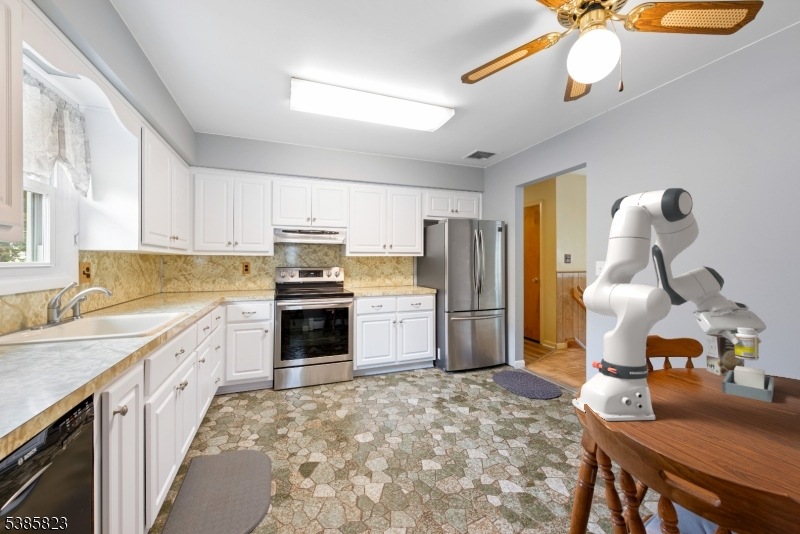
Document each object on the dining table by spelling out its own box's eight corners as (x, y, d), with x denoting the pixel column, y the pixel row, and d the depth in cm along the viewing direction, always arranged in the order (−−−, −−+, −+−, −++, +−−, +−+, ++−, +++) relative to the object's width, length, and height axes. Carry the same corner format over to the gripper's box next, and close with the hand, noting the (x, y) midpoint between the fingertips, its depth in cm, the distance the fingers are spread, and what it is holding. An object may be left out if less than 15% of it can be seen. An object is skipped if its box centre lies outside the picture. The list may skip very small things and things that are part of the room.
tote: (771, 405, 101) (771, 391, 101) (722, 395, 110) (722, 382, 110) (773, 389, 114) (773, 377, 114) (729, 381, 122) (729, 369, 122)
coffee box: (719, 378, 126) (718, 337, 127) (706, 372, 133) (705, 333, 133) (745, 378, 126) (744, 337, 126) (730, 373, 132) (729, 334, 132)
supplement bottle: (746, 356, 111) (745, 326, 112) (764, 360, 106) (763, 329, 106) (729, 356, 111) (729, 326, 112) (746, 361, 106) (746, 329, 106)
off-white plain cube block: (763, 391, 110) (763, 374, 110) (734, 386, 115) (734, 369, 115) (765, 387, 114) (764, 370, 114) (736, 381, 119) (736, 365, 119)
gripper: (696, 305, 115) (725, 338, 105) (750, 304, 116) (784, 337, 106) (684, 316, 120) (711, 348, 110) (737, 314, 121) (769, 347, 111)
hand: (748, 343), depth 108 cm, fingers closed on supplement bottle, 6 cm apart
